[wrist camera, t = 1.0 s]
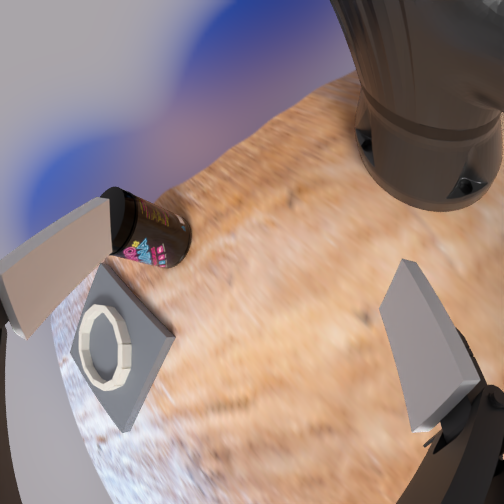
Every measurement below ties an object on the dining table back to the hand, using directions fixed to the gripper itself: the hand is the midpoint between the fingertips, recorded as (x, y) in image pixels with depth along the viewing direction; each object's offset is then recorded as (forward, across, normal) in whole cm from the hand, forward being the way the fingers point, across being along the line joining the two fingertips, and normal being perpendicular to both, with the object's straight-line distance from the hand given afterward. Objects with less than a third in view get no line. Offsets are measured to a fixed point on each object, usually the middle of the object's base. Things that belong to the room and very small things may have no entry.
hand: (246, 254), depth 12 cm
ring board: (+13, -17, -27) cm, 34 cm away
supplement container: (+19, -10, -11) cm, 25 cm away
